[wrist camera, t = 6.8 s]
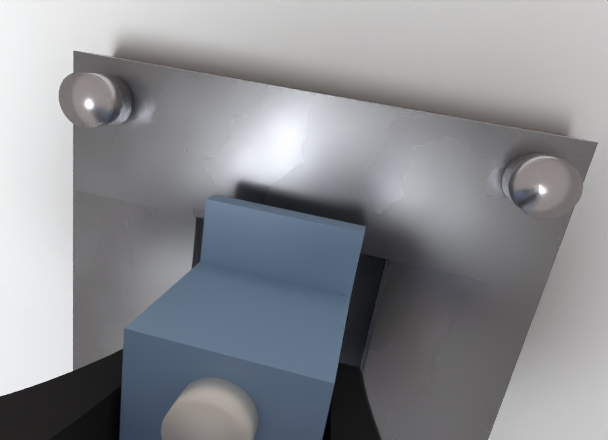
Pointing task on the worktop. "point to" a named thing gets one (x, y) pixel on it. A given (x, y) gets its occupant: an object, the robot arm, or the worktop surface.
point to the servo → (244, 331)
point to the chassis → (329, 204)
